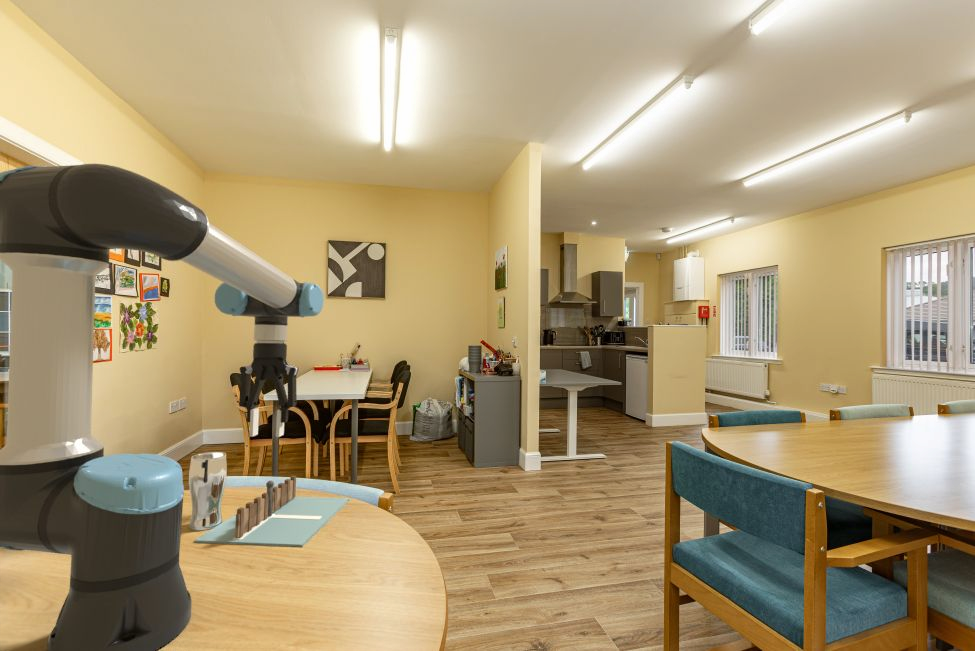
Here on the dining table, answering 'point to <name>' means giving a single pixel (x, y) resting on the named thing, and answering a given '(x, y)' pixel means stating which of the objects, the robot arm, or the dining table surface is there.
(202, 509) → the beer glass
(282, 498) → the fence panel
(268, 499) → the fence fixed
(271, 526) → the board
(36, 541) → the robot arm
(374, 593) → the dining table surface
